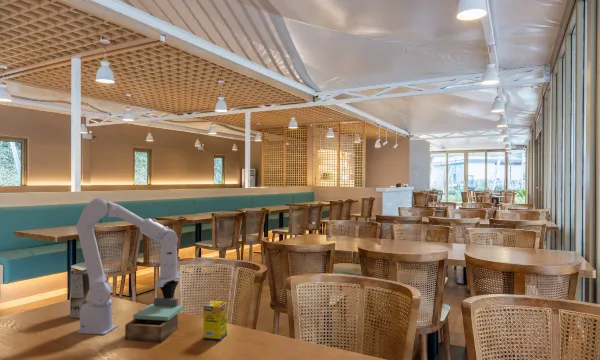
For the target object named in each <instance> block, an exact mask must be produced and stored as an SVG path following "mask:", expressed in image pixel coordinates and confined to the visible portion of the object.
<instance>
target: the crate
mask: <svg viewBox="0 0 600 360" xmlns="http://www.w3.org/2000/svg"><path fill="white" fill-rule="evenodd" d="M178 314H179V313H178ZM178 314H176V315H175V316H174V317H172V318H171V319H170V320H168V321H165V320H148V319H133V318H132V320H130V321H129V322H127V323H126V324H125V327H124V328H125V331H124V332H125V333H124V340H125V341H128V342H142V343H143V342H144V343H158V344H159V343H161V344H162V343H163V342H164V341H165V340H166V339H168V338H169V337H171V335H172V334H173V333H175V332H176V331H177V330H178V329H179V326H178V325H179V315H178Z"/></svg>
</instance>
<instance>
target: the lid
mask: <svg viewBox="0 0 600 360" xmlns="http://www.w3.org/2000/svg"><path fill="white" fill-rule="evenodd" d="M153 300H154V301H153V303H150V304H148V305H147V306H145V307H144V308H142V309H141V310H139V311H138V312H136V313H134V314H133V315H132V316H133V317H132V320H133V319H148V320H165V321H168V320H170V319H171V318H172V317H174V316H175V315H176V314H179V313H181V312H182V311H183V310H184V307H185V306H184V305H181V304H179V298H174V297H173V298H164V297H155V298H154V299H153Z"/></svg>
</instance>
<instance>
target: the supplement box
mask: <svg viewBox="0 0 600 360" xmlns="http://www.w3.org/2000/svg"><path fill="white" fill-rule="evenodd" d="M202 324H203V329H202V330H203V331H202V332H203V334H202V335H203V337H202V338H203V341H213V342H214V341H215V342H221V340H222V341H223V339H224V338H225V337H226V336H227V335H228V301H222V300H221V301H220V300H210V301H209V302H208V303H206V304H204V305H203V323H202Z"/></svg>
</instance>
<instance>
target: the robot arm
mask: <svg viewBox="0 0 600 360" xmlns="http://www.w3.org/2000/svg"><path fill="white" fill-rule="evenodd" d="M107 214H108V216H107V218H116V217H118V218H119V219H122V220H124V221H126V222H127V223H129V224H132V225H134V226H136V227H137V228H139V231H140V233H141V234H142V235H144V236H146V237H148V238H150V239H151V240H154V241H156V242H160V257H159V258H160V259H159V267H160V268H159V269H160V271H159V272H160V273H159V274H160V275H159V278H158V279H157V281H156V283H155V286H156V288H159V289H160V290H161V293H162V296H163V298H174V294H175V292H176V291H175V290H176V288H177V286H178V284H179V279H181V272H180V271H178V250H177V249H178V243H179V237H178V234H177V233H176V232H175V230H174V229H172V228H169V226H168V225H166V226H164V225H163V224H161V223H159V222H158V221H157V219H155V218H150V217H149V218H142V217H140V216H139V215H137V214H135V213H134V212H132V211H130V210H128V209H126V207H123V206H122V205H120V204H117V203H115V202H113V201H110V200H107V199H106V198H103V197H97V198H94V199H92V200H90V201H89V202H88V204H86V206H84V208H83V210H82V212H81V215H80V217H79V219H78V221H77V224H76V230H77V234H78V238H79V244H80V247H81V251H82V255H83V259H84V263H85V264H84V265H85V268H86V269H87V272H88V276H89V286H90V294H89V300H90V302H89V303H85V304H84V305H83V306H82V308H81V310H80V318H79V330H78V332H77V333H78V334H89V335H90V334H91V335H106V334H108V333H109V332H111V331H112V330H115V328H118V324H113V299H111V293H112V290H113V289H112V285H111V283H110V282H109V281H108V280H107V276H106V274H105V271H104V267H103V264H102V262H103V261H102V259H101V254H100V250H99V247H98V243H97V238H96V233H95V229H94V227H95V226H96V225H97V223H98V222H99V220H101V219H102V218H104V217H106V215H107Z"/></svg>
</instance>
